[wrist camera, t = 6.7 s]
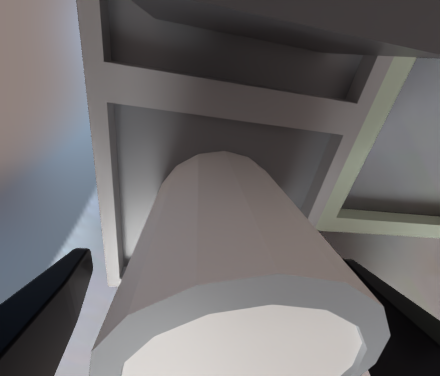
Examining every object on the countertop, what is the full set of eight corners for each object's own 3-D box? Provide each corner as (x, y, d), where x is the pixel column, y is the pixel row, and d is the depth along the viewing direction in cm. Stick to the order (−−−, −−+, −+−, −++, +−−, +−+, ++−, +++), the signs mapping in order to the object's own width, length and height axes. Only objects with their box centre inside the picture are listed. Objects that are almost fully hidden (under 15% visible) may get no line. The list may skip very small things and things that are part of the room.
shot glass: (123, 233, 12) (52, 428, 6) (180, 106, 9) (158, 225, 3) (240, 269, 14) (277, 436, 8) (315, 175, 11) (460, 325, 5)
